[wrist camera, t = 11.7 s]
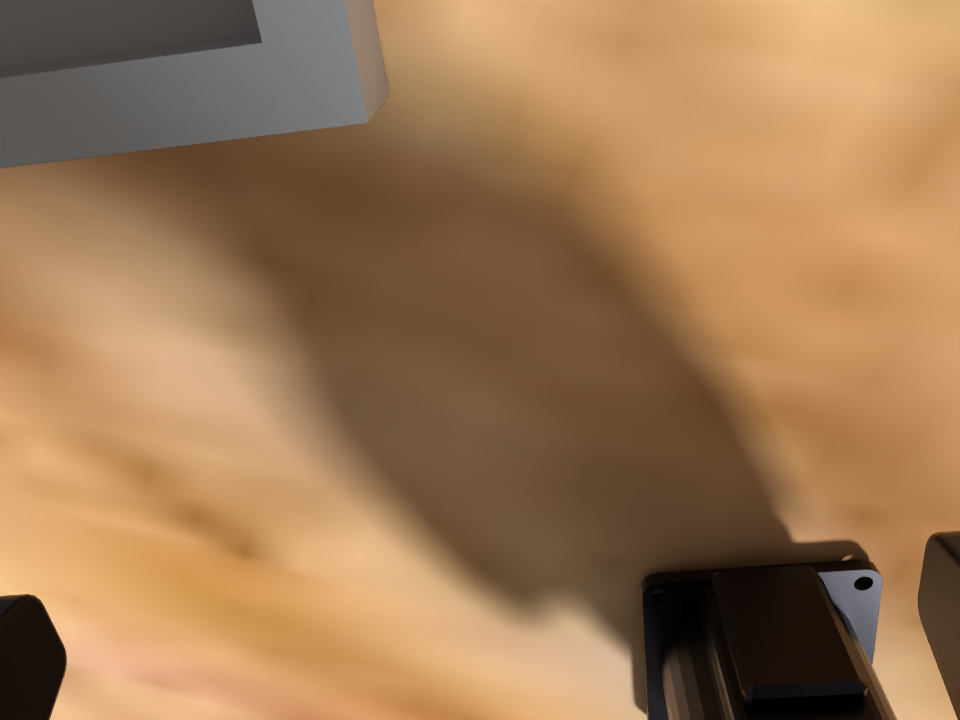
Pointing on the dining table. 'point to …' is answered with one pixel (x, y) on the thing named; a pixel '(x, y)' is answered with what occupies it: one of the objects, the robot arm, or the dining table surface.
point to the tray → (179, 73)
